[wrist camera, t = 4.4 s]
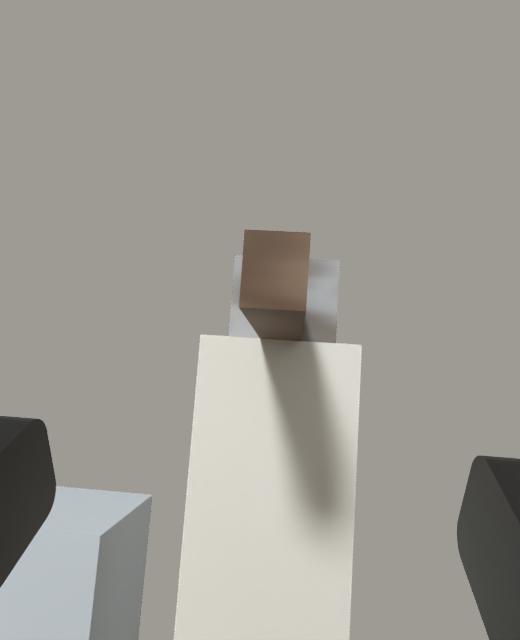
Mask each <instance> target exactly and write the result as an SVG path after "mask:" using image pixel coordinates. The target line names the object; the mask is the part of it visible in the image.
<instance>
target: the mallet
mask: <svg viewBox="0 0 520 640" xmlns="http://www.w3.org/2000/svg"><path fill="white" fill-rule="evenodd" d="M310 235H311V234H310V233H305V232H304V233H303V232H283V231H261V230H245V233H244V246H243V256H240V255H235V265H234V276H233V290H232V302H231V315H230V326H229V336H230V337H245V338H261V339H276V340H292V341H307V342H323V343H336V328H337V308H338V287H339V268H340V261H337V260H318V259H309V252H310Z"/></svg>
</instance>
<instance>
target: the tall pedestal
mask: <svg viewBox="0 0 520 640" xmlns="http://www.w3.org/2000/svg"><path fill="white" fill-rule="evenodd" d="M361 348H362V345H354V344H338V343H323V342H307V341H292V340H276V339H261V338H245V337H230V336H214V335H201V336H200V347H199V359H198V371H197V381H196V393H195V404H194V416H193V427H192V438H191V449H190V461H189V472H188V484H187V495H186V506H185V518H184V529H183V540H182V551H181V563H180V575H179V585H178V597H177V609H176V619H175V631H174V632H175V633H174V640H349V632H350V631H349V629H350V608H351V585H352V561H353V537H354V514H355V489H356V465H357V442H358V420H359V397H360V373H361V372H360V371H361V350H362V349H361Z"/></svg>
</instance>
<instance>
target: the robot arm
mask: <svg viewBox="0 0 520 640" xmlns="http://www.w3.org/2000/svg"><path fill="white" fill-rule="evenodd" d="M55 494H56V480H55V474H54V468H53V463H52V457H51V452H50V446H49V440H48V435H47V429H46V427H45V424H44V422H43V421H42V420H40V419H32V418H20V417H6V416H0V588H1V586H2V585H3V583H4V582H5V580H6V579H7V577H8V576H9V574H10V573H11V571H12V570H13V568H14V567H15V565H16V564H17V562H18V561H19V559H20V558H21V556H22V555H23V553H24V552H25V550H26V549H27V547H28V546H29V544H30V543H31V541H32V540H33V538H34V537H35V535H36V534H37V532H38V531H39V529H40V528H41V526H42V525H43V523H44V522H45V520H46V519H47V517H48V515H49V513H50V511H51V509H52V506H53V503H54V499H55ZM457 541H458V549H459V553H460V557H461V560H462V563H463V566H464V569H465V572H466V575H467V577H468V580H469V583H470V586H471V588H472V592H473V594H474V597H475V600H476V603H477V606H478V609H479V611H480V614H481V617H482V620H483V623H484V625H485V628H486V631H487V634H488V637H489V640H520V459H516V458H503V457H491V456H477V457H476V458H475V459H474V461H473V463H472V467H471V470H470V474H469V478H468V482H467V486H466V490H465V494H464V498H463V502H462V506H461V510H460V514H459V519H458V525H457Z"/></svg>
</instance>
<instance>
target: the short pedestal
mask: <svg viewBox="0 0 520 640" xmlns="http://www.w3.org/2000/svg"><path fill="white" fill-rule="evenodd" d="M151 502H152V495H147V494H135V493H126V492H115V491H104V490H93V489H81V488H71V487H60V486H56V494H55V499H54V503H53V506H52V509H51V511H50V513H49V515H48V517H47V519H46V520H45V522H44V523H43V525H42V526H41V528H40V529H39V531H38V532H37V534H36V535H35V537H34V538H33V540H32V541H31V543H30V544H29V546H28V547H27V549H26V550H25V552H24V553H23V555H22V556H21V558H20V559H19V561H18V562H17V564H16V565H15V567H14V568H13V570H12V571H11V573H10V574H9V576H8V577H7V579H6V580H5V582H4V583H3V585H2V586H1V588H0V640H138V636H139V626H140V615H141V604H142V594H143V585H144V574H145V564H146V554H147V544H148V533H149V523H150V513H151Z"/></svg>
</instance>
